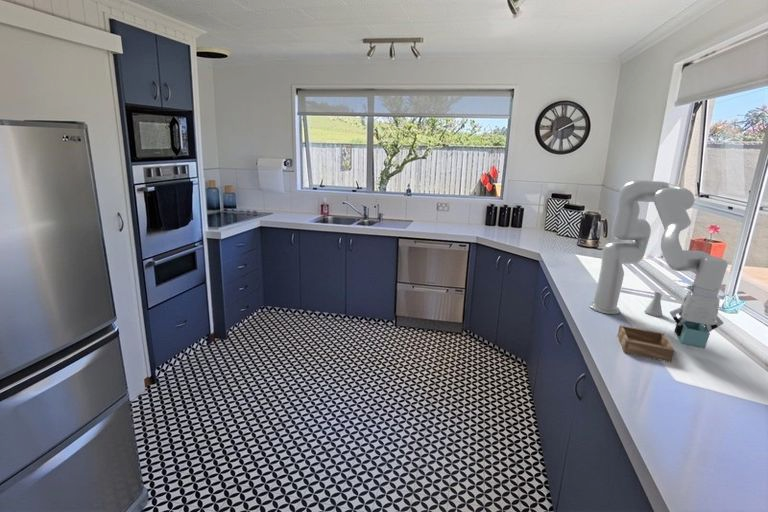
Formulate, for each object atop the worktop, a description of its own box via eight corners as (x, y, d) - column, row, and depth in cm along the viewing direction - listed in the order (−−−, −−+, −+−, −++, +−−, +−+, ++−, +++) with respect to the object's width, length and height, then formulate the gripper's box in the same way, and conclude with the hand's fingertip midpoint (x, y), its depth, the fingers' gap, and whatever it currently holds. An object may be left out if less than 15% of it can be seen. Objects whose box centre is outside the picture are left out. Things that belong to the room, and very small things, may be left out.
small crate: (673, 332, 157) (678, 317, 155) (695, 336, 155) (700, 322, 153) (681, 344, 148) (686, 328, 146) (704, 348, 146) (709, 333, 144)
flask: (645, 309, 195) (650, 289, 192) (663, 314, 191) (668, 293, 188) (642, 313, 190) (647, 293, 187) (661, 318, 185) (666, 297, 183)
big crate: (617, 335, 164) (619, 325, 163) (660, 344, 160) (663, 333, 158) (623, 352, 151) (626, 341, 150) (671, 362, 146) (674, 350, 145)
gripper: (678, 290, 145) (664, 335, 151) (738, 300, 140) (722, 347, 145) (673, 283, 152) (659, 327, 157) (730, 292, 146) (714, 338, 152)
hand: (689, 336), depth 151 cm, fingers closed on small crate, 7 cm apart
